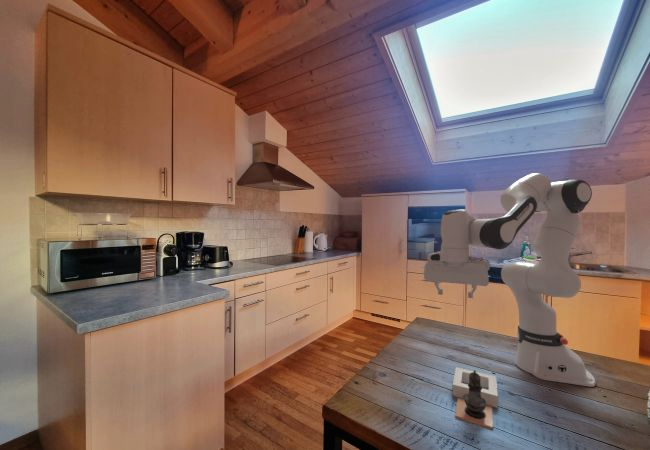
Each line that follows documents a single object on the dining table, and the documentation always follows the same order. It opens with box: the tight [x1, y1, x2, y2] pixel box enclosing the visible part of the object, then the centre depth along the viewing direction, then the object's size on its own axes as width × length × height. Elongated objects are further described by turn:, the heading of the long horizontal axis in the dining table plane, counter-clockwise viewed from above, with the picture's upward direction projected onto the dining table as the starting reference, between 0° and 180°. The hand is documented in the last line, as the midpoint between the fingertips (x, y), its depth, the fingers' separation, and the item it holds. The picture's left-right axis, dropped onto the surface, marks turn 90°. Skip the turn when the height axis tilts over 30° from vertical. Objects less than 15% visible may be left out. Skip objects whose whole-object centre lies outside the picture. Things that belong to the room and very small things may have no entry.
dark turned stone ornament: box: [462, 369, 488, 419], centre depth 77 cm, size 6×6×12 cm
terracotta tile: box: [454, 397, 494, 430], centre depth 78 cm, size 9×9×1 cm
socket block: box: [452, 366, 499, 409], centre depth 88 cm, size 12×12×4 cm
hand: (455, 295), depth 95 cm, fingers open, 8 cm apart
